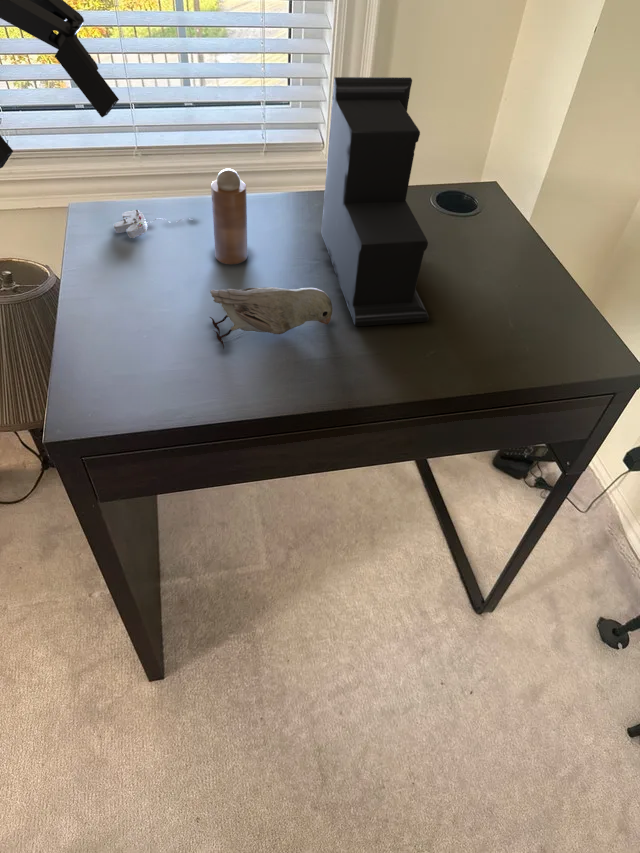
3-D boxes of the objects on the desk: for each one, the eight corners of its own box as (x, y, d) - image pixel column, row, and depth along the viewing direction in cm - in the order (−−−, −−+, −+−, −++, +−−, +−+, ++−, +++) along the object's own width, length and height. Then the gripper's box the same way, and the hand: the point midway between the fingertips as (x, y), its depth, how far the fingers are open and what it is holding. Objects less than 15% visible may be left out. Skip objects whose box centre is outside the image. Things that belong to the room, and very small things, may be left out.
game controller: (108, 226, 99) (105, 210, 97) (174, 207, 105) (173, 192, 103) (126, 243, 96) (123, 227, 94) (192, 222, 102) (191, 207, 100)
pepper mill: (209, 258, 95) (203, 172, 85) (226, 243, 98) (222, 158, 88) (236, 268, 94) (233, 182, 84) (253, 252, 97) (252, 168, 87)
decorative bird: (336, 336, 85) (341, 289, 79) (216, 354, 81) (212, 305, 75) (324, 312, 88) (328, 264, 83) (208, 327, 84) (204, 279, 79)
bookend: (429, 322, 88) (470, 154, 71) (353, 328, 86) (376, 156, 69) (385, 232, 103) (410, 75, 86) (319, 235, 102) (331, 75, 84)
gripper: (-292, -129, 41) (-37, 164, 48) (5, -155, 57) (164, 68, 64) (-292, -43, 46) (-63, 209, 53) (-21, -89, 62) (129, 111, 69)
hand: (61, 133), depth 58 cm, fingers open, 13 cm apart
